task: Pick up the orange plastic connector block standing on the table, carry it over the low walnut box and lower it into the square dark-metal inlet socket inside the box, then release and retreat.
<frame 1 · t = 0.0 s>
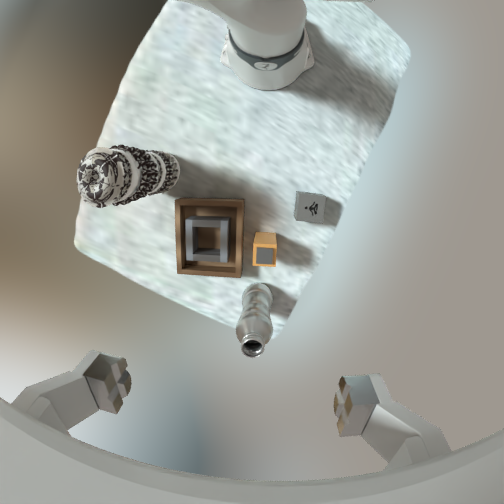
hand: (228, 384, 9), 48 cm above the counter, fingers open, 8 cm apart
decorative candle: (161, 171, 54), on the counter
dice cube: (307, 204, 55), on the counter
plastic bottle: (257, 293, 61), on the counter
connector: (265, 241, 57), on the counter
walled box: (211, 234, 57), on the counter
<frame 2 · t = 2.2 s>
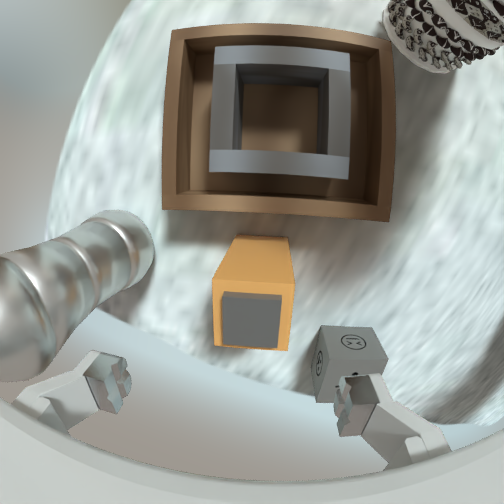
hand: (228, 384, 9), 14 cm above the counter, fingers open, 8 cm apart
decorative candle: (423, 34, 15), on the counter
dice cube: (340, 346, 25), on the counter
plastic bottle: (129, 240, 23), on the counter
connector: (260, 260, 23), on the counter
walled box: (280, 120, 19), on the counter
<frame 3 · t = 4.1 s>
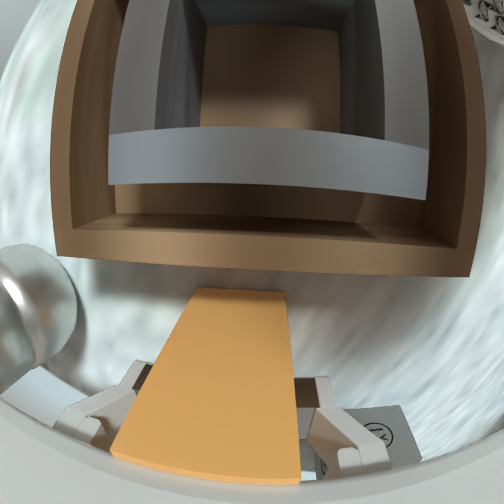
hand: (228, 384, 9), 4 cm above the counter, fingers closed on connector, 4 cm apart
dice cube: (354, 427, 16), on the counter
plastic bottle: (51, 284, 14), on the counter
connector: (239, 326, 13), on the counter, touching gripper
walled box: (271, 85, 10), on the counter
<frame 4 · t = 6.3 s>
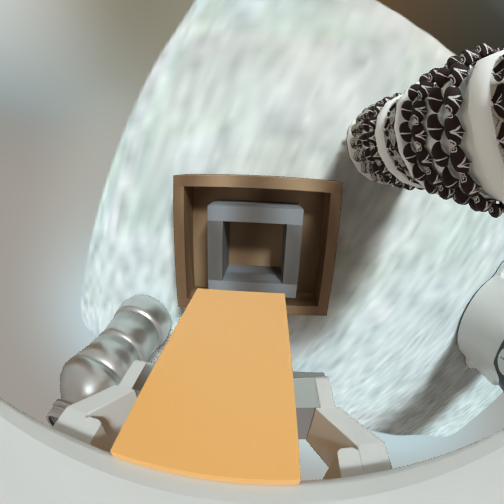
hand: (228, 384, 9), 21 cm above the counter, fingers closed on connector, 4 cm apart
decorative candle: (383, 144, 26), on the counter
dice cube: (302, 383, 35), on the counter
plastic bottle: (151, 311, 33), on the counter
connector: (239, 328, 13), point 17 cm above the counter, touching gripper
walled box: (256, 238, 29), on the counter
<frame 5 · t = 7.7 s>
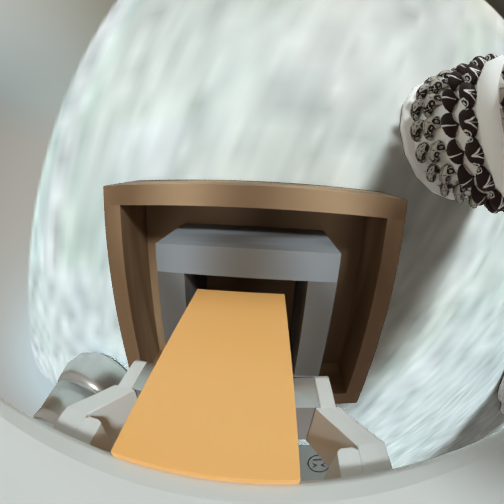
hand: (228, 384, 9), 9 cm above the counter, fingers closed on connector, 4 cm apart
decorative candle: (449, 138, 14), on the counter
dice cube: (311, 454, 24), on the counter
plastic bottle: (109, 370, 22), on the counter
connector: (239, 328, 13), point 5 cm above the counter, touching gripper
walled box: (251, 285, 18), on the counter
when the fingers open (7 cm above the counter, at t = 8.8 s): connector drops 2 cm, resting on walled box.
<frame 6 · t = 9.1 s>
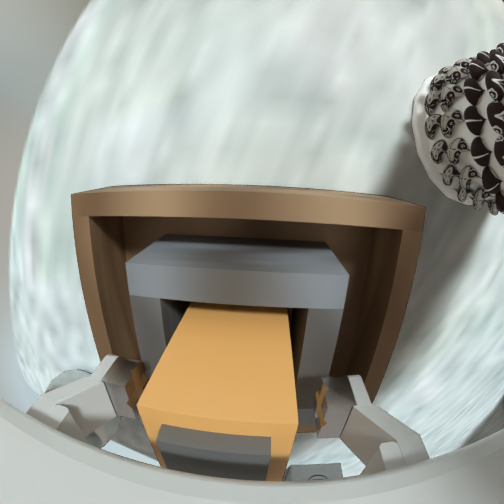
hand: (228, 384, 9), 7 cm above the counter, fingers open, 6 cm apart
decorative candle: (464, 136, 12), on the counter
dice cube: (310, 472, 22), on the counter
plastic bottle: (96, 387, 19), on the counter
connector: (243, 312, 15), point 1 cm above the counter, touching walled box
walled box: (243, 303, 16), on the counter
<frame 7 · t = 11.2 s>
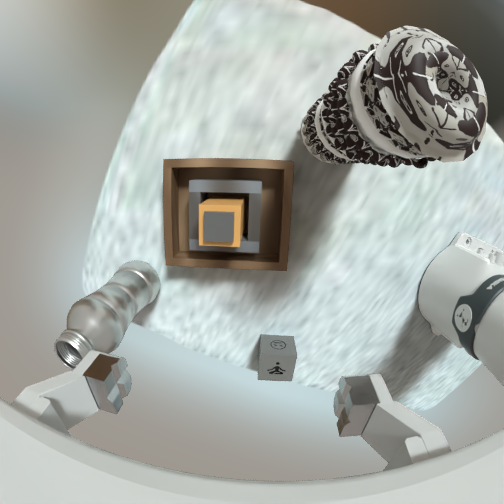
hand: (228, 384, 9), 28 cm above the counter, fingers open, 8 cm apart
decorative candle: (332, 132, 33), on the counter
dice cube: (275, 347, 42), on the counter
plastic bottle: (143, 276, 39), on the counter
connector: (228, 211, 35), point 1 cm above the counter, touching walled box
walled box: (228, 210, 36), on the counter
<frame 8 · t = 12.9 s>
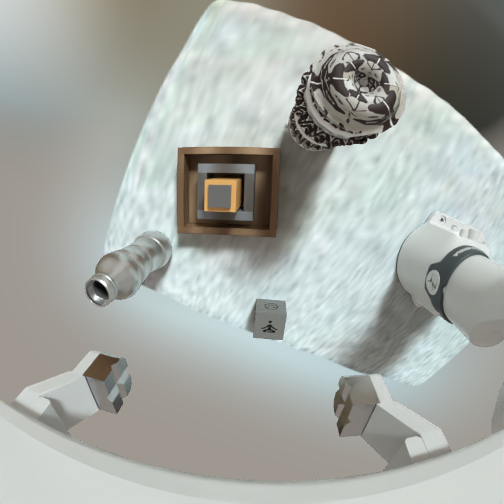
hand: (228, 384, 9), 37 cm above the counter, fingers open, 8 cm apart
decorative candle: (315, 125, 40), on the counter
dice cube: (269, 311, 50), on the counter
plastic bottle: (158, 245, 48), on the counter
connector: (229, 190, 43), point 1 cm above the counter, touching walled box
walled box: (230, 189, 44), on the counter
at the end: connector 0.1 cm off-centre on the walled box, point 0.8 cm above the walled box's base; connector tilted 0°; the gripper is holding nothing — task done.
